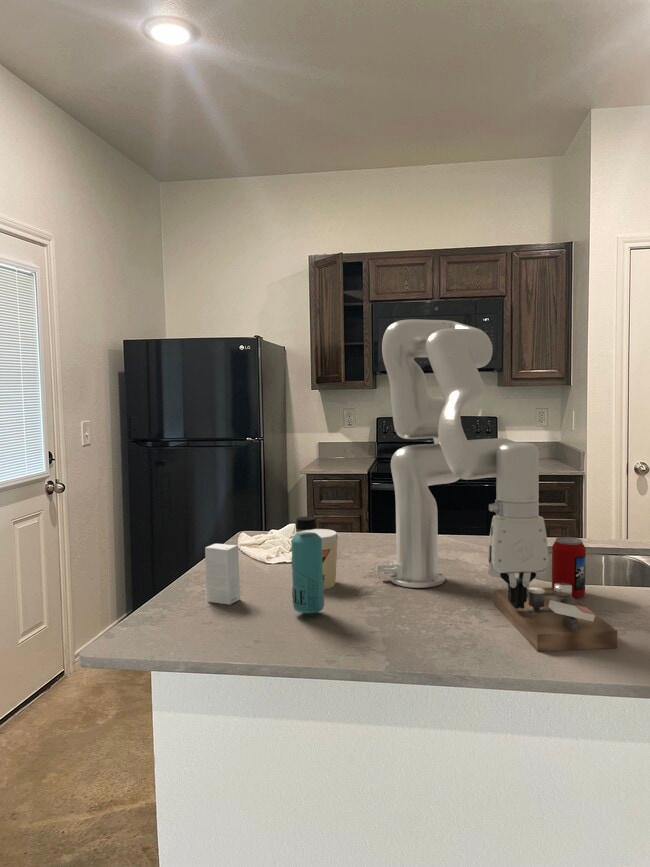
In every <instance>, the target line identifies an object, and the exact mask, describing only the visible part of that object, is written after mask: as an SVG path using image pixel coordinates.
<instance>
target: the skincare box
mask: <svg viewBox="0 0 650 867" xmlns="http://www.w3.org/2000/svg"><path fill="white" fill-rule="evenodd" d="M204 553H205V554H204V557H205V575H206V579H205V580H206V599H207V600H206V602H207V603H212V604H213V603H215V604H222V605H229V606H231V605H233V604H234V603H235V602H237V601H240V599H241V588H240V587H241V586H240V583H241V582H240V563H239V562H240V560H239V545H238V544H237V545H236V544H224V543H212V544H210V545H208V546H206V547H204Z"/></svg>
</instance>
